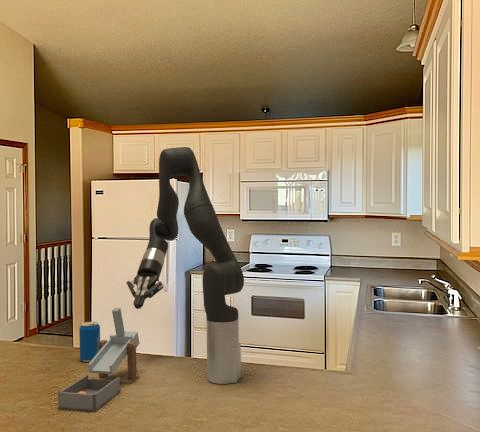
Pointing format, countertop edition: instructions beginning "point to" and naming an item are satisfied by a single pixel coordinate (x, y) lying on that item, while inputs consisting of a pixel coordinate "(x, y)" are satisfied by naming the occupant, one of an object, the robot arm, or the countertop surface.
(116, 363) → the chute
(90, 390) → the shallow gray tray
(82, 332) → the beverage can
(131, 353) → the stand
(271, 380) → the countertop surface
